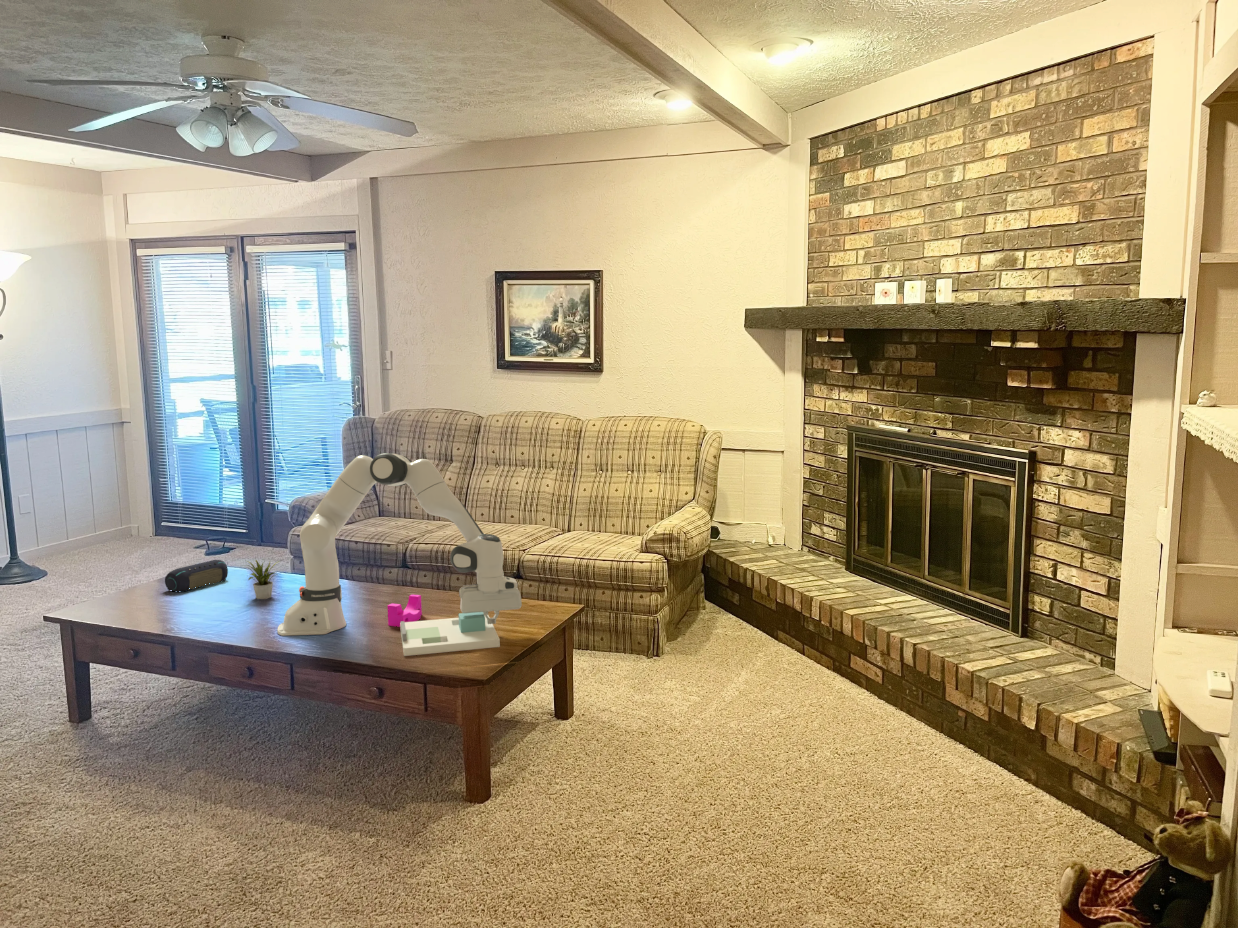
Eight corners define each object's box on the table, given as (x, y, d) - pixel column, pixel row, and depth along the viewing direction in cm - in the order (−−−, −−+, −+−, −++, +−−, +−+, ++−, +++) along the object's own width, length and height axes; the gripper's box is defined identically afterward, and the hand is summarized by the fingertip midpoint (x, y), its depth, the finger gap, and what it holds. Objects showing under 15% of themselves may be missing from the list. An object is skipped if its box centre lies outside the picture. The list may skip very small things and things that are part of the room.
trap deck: (403, 655, 289) (403, 640, 288) (400, 629, 316) (399, 615, 315) (499, 646, 297) (499, 631, 296) (488, 621, 324) (488, 607, 323)
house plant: (232, 603, 351) (229, 561, 349) (254, 593, 365) (251, 553, 362) (266, 605, 348) (263, 562, 346) (287, 595, 361) (284, 554, 359)
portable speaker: (179, 597, 361) (177, 572, 360) (162, 594, 366) (160, 569, 365) (233, 582, 383) (231, 558, 382) (217, 579, 388) (215, 556, 386)
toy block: (403, 628, 318) (402, 606, 317) (388, 626, 321) (387, 605, 320) (427, 616, 332) (427, 595, 331) (413, 614, 334) (412, 594, 334)
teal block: (461, 632, 304) (460, 619, 303) (458, 626, 310) (458, 613, 310) (485, 630, 306) (485, 617, 305) (482, 624, 312) (482, 611, 312)
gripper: (459, 587, 302) (461, 628, 304) (522, 583, 307) (522, 623, 309) (458, 583, 308) (459, 623, 310) (518, 578, 314) (519, 618, 315)
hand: (491, 623), depth 310 cm, fingers closed
